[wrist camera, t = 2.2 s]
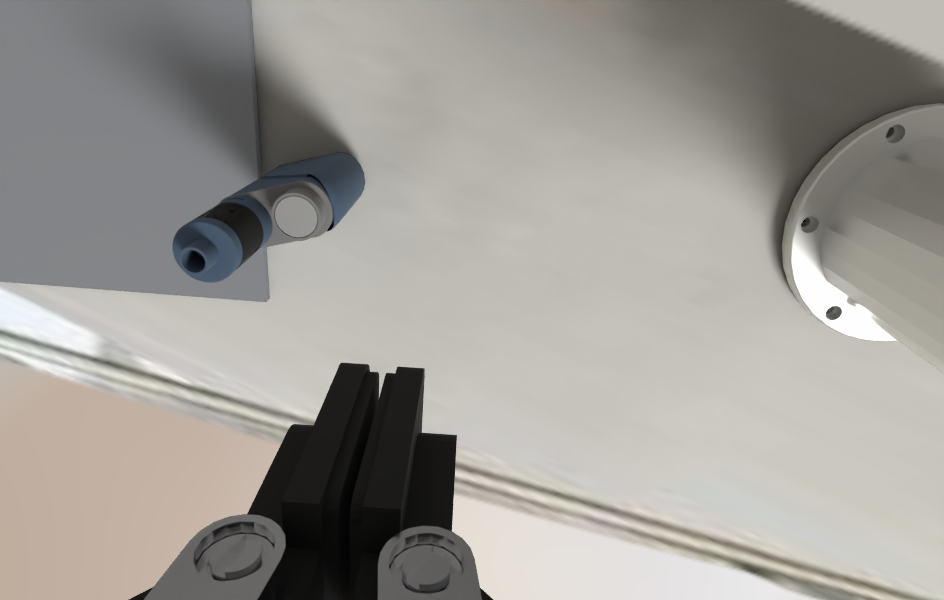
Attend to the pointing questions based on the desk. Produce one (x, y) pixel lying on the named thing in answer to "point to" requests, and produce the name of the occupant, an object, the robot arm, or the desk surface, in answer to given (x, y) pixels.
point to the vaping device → (269, 215)
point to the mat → (123, 140)
